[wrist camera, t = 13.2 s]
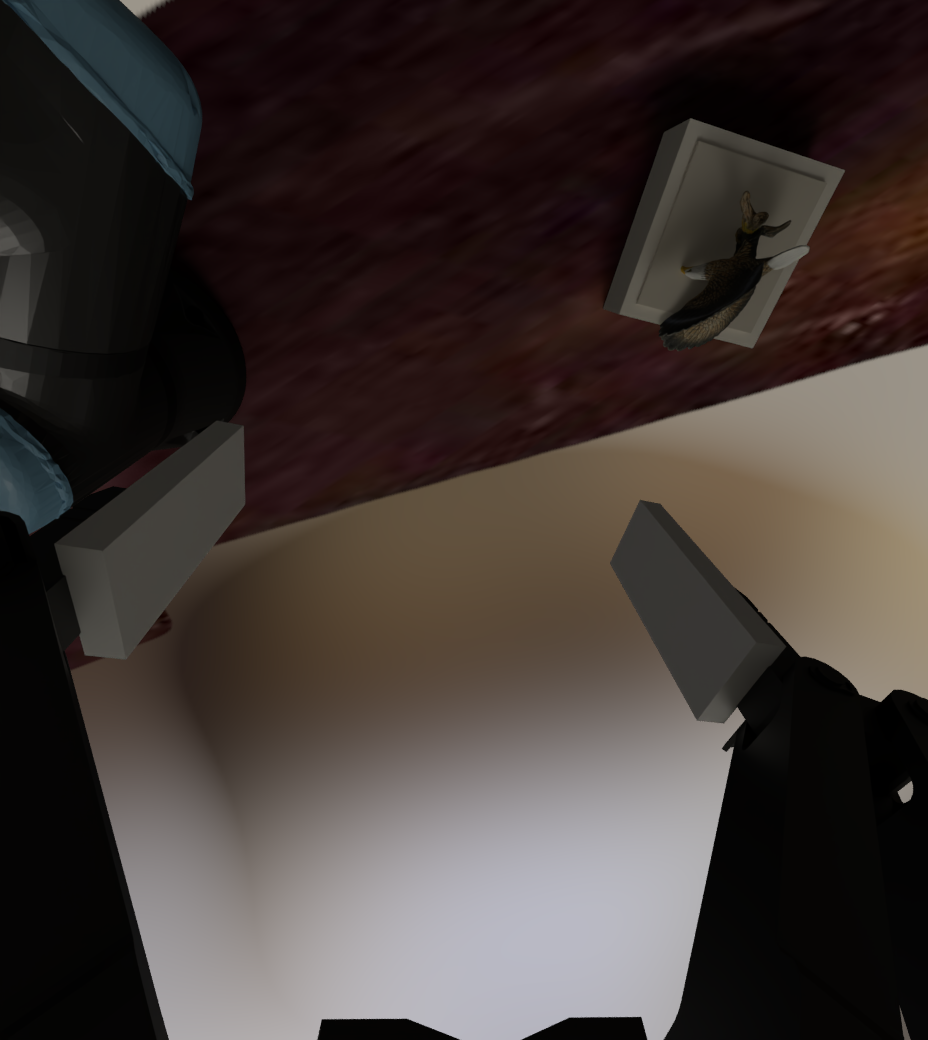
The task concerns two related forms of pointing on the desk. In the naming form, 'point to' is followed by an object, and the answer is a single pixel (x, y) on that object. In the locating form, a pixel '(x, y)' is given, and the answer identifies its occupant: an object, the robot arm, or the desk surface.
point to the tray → (715, 221)
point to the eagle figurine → (726, 283)
